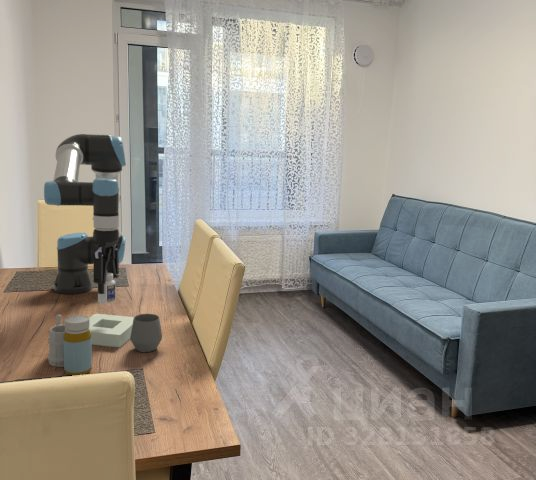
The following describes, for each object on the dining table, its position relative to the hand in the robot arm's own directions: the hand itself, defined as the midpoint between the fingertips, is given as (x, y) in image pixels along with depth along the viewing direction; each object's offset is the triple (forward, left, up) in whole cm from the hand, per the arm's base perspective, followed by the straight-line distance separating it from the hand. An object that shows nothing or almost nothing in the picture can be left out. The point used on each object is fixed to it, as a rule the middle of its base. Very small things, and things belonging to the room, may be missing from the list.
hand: (106, 300), depth 160 cm
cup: (+7, +16, -12) cm, 21 cm away
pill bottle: (0, 0, 0) cm, 0 cm away
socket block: (0, 0, -12) cm, 12 cm away
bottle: (+26, +4, -12) cm, 29 cm away
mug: (+20, -5, -12) cm, 23 cm away
